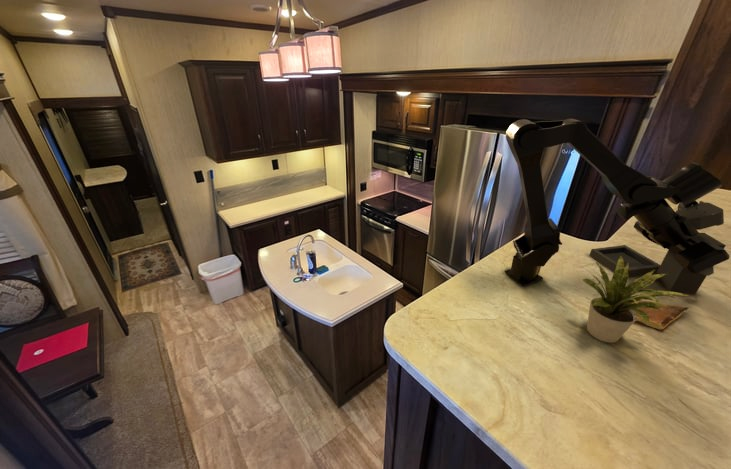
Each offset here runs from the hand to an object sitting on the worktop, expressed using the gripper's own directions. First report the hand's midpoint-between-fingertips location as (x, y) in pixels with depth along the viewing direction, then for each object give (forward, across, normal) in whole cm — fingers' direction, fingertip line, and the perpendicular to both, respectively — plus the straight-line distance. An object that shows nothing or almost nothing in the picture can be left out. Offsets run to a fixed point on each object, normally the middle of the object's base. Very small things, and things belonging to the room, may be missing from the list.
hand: (694, 262), depth 65 cm
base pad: (-1, +8, +10) cm, 13 cm away
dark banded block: (+4, 0, +6) cm, 7 cm away
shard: (-4, -10, +14) cm, 17 cm away
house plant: (-13, -19, +22) cm, 32 cm away
